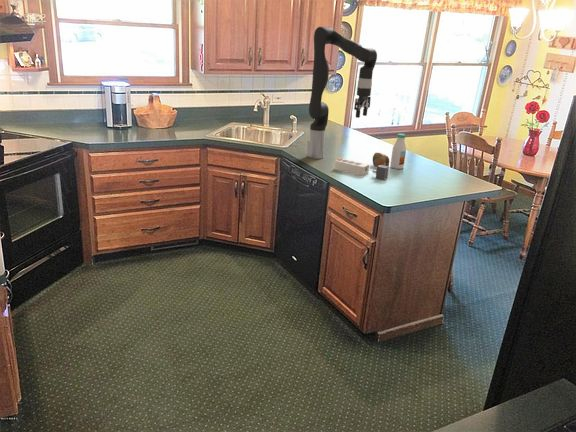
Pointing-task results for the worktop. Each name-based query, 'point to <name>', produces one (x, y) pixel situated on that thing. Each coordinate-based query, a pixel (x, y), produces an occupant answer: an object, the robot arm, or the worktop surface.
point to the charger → (381, 172)
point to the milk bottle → (398, 152)
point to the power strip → (352, 166)
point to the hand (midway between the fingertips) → (361, 116)
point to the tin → (380, 159)
